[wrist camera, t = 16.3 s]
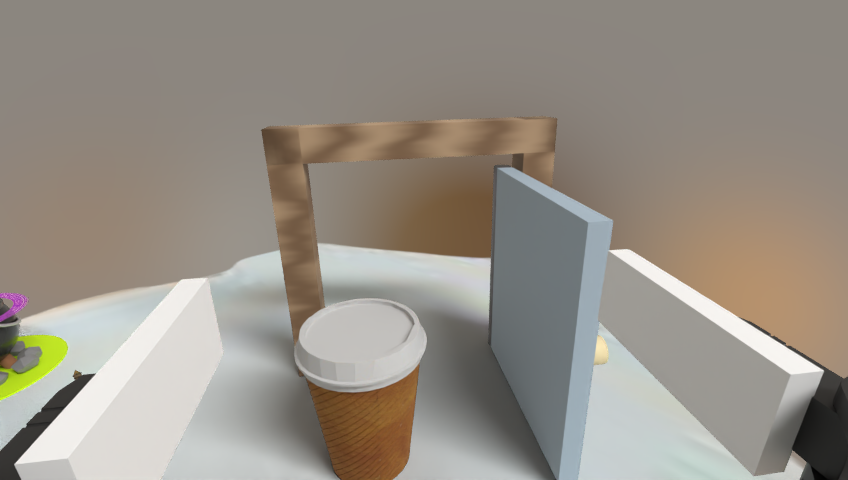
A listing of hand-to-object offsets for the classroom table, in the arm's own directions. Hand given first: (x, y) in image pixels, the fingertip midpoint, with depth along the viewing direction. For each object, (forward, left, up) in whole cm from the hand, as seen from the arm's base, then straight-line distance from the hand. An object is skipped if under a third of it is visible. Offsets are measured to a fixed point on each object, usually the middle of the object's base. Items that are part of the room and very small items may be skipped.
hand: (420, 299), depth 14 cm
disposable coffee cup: (-12, +8, -22) cm, 26 cm away
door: (-4, +22, -21) cm, 30 cm away
